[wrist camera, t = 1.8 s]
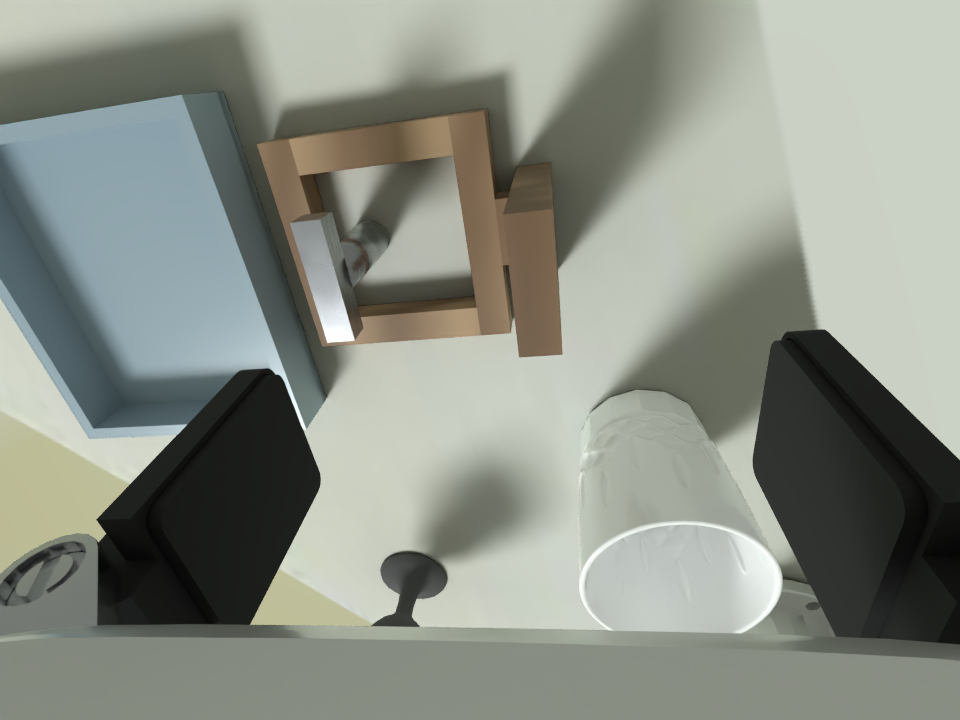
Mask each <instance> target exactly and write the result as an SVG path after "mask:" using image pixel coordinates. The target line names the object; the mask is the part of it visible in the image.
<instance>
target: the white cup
mask: <svg viewBox="0 0 960 720" xmlns="http://www.w3.org/2000/svg"><path fill="white" fill-rule="evenodd" d="M580 446H581V464H580V471H579V500H578V530H579V590H580V595H581V598H582V601H583V603H584V605H585V607H586V609H587V610H588V612H589V613H590V614H591V615H592V617H593V618H594V619H595V620H597V621H598V622H599V623H600V624H601V625H603V626H604V627H605V628H607V629H608V630H610V631H655V632H701V633H744V632H745V631H747V630H749V629H751V628H752V627H754V626H755V625H757V624H758V623H759V622H761V621H762V620H763V619H764V618H765V617H766V616H767V615H768V614H769V613H770V612H771V611H772V609H773V608H774V607H775V605H776V603H777V602H778V600H779V597H780V595H781V591H782V586H783V577H782V571H781V568H780V565H779V563H778V561H777V559H776V557H775V555H774V553H773V552H772V550H771V548H770V546H769V544H768V542H767V540H766V538H765V537H764V535H763V533H762V531H761V529H760V527H759V525H758V523H757V521H756V519H755V517H754V515H753V514H752V512H751V510H750V508H749V506H748V504H747V502H746V500H745V498H744V496H743V494H742V492H741V490H740V488H739V486H738V485H737V483H736V481H735V480H734V478H733V477H732V475H731V473H730V471H729V469H728V467H727V465H726V464H725V462H724V460H723V459H722V457H721V455H720V453H719V451H718V449H717V447H716V446H715V444H714V442H713V441H712V440H710V439H709V437H708V435H707V433H706V431H705V429H704V427H703V425H702V423H701V422H700V420H699V419H698V417H697V416H696V414H695V413H694V411H693V410H692V408H691V407H690V405H689V404H688V403H686V402H684V401H682V400H680V399H678V398H676V397H674V396H672V395H670V394H668V393H666V392H661V391H649V390H633V391H630V392H627V393H623V394H620V395H616V396H613V397H610V398H608V399H607V400H606V401H605V402H603V403H602V404H601V405H600V406H598V407H597V408H596V409H595V410H593V411H592V412H591V413H590V414H589V416H588V418H587V420H586V423H585V425H584V427H583V429H582V431H581V434H580Z"/></svg>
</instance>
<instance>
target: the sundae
mask: <svg viewBox="0 0 960 720" xmlns="http://www.w3.org/2000/svg"><path fill="white" fill-rule="evenodd" d="M381 576H382V579H383V581H384V582H385V584H386V585H387V586H388V587H389V588H390V589H392V590H393V591H395V592H397V593H398V594H400V596H399V603H398V606H397V609H396V612H395V613H394V614H392V615H389V616H385V617H383V618H382V619H380V620H378V621H377V622H375V623H374V624H373V625H372V626H386V627H420V626H419V625H418V624H417V623H416V622H415V621H414V620H413V618H412V612H413V607H414V604H415V601H416V599H424V598H430V597H433V596H435V595H437V594H439V593H440V592H441V591H442V590H443V589H444V587H445V585H446V583H447V580H446V574H445V572H444V571H443V569H442V568H441V567H440V565H439V564H437V563H436V562H435V561H433V560H432V559H430V558H428V557H425V556H423V555H419V554H415V553H400V554H396V555H393V556H391V557H389V558H388V559H386V560H385V561H384V562H383V564H382V566H381Z"/></svg>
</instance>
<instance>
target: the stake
mask: <svg viewBox="0 0 960 720" xmlns="http://www.w3.org/2000/svg"><path fill="white" fill-rule="evenodd" d="M290 225H291V229H292V232H293V235H294V238H295V241H296V244H297V248H298V251H299V254H300V257H301V260H302V263H303V267H304V270H305V273H306V276H307V279H308V282H309V286H310V289H311V292H312V295H313V298H314V302H315V305H316V308H317V311H318V314H319V317H320V321H321V324H322V327H323V330H324V333H325V336H326V340H327V343H329V342H343V341H355V340H356V338H357V337H358V335H359V334H360V332H361V331H362V330H363V328H364V327H363V323H362V320H361V316H360V312H359V309H358V305H357V301H356V298H355V294H354V290H353V288H354V286H355V285H356V284H357V283H358V282H359V281H360V280H361V278H362V277H363V276H364V275H365V274H366V273H367V271H368V270H369V269H370V268H371V267H372V266H373V265H374V263H375V262H376V261H377V260H378V259H379V258H380V256H381V255H382V254H383V253H384V252H385V251H386V249H387V247H388V244H389V238H388V234H387V232H386V230H385V229H384V228H383V226H381V225H380V224H379V223H377V222H375V221H370V220H367V221H363V222H361V223H359V224H358V225H357V226H355V227H354V228H353V229H352V230H351V231H349V232H348V233H347V234H346V235H345V236H344V237H342V238H341V239H339V235H338V232H337V228H336V224H335V221H334V217H333V213H332V211H331V212H323V213H314V214H306V215H302V216H300V217H299V218H297V219H295V220H294V221H292V222H291V223H290Z"/></svg>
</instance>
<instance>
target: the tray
mask: <svg viewBox="0 0 960 720" xmlns="http://www.w3.org/2000/svg"><path fill="white" fill-rule="evenodd" d="M0 299H1V300H2V302H3V303H4V305H5V306H6V308H7V310H8V311H9V313H10V314H11V316H12V317H13V319H14V321H15V322H16V324H17V325H18V327H19V329H20V330H21V332H22V333H23V335H24V336H25V338H26V340H27V341H28V343H29V344H30V346H31V348H32V349H33V351H34V352H35V354H36V355H37V357H38V359H39V360H40V362H41V363H42V365H43V367H44V368H45V370H46V371H47V373H48V374H49V376H50V378H51V379H52V381H53V382H54V384H55V385H56V387H57V389H58V390H59V392H60V393H61V395H62V397H63V398H64V400H65V401H66V403H67V404H68V406H69V408H70V409H71V411H72V412H73V414H74V416H75V417H76V419H77V420H78V422H79V423H80V425H81V427H82V428H83V430H84V431H85V433H86V435H87V436H88V438H89V439H96V438H119V437H142V436H164V435H178V434H179V433H180V432H181V431H182V430H183V429H184V428H185V426H186V425H187V424H188V423H189V422H190V421H191V420H192V419H193V418H194V417H195V416H196V415H197V414H198V413H199V412H200V411H201V410H202V409H203V408H204V407H205V406H206V405H207V403H208V402H209V401H210V400H211V399H212V398H213V397H214V396H215V395H216V394H217V393H218V392H219V391H220V390H221V389H222V388H223V387H224V386H225V385H226V384H227V383H228V381H229V380H230V379H231V378H232V377H233V376H234V375H235V374H236V373H237V372H239V371H240V370H249V369H263V368H269V369H271V370H272V371H273V372H274V373H275V374H276V375H280V376H281V377H282V378H283V380H284V382H285V385H286V387H287V390H288V392H289V395H290V398H291V400H292V403H293V405H294V408H295V410H296V413H297V416H298V418H299V421H300V423H301V426H302V428H303V429H307V427H308V426H309V424H310V423H311V421H312V420H313V418H314V417H315V415H316V414H317V412H318V411H319V409H320V408H321V406H322V405H323V403H324V402H325V400H326V396H325V393H324V390H323V387H322V384H321V381H320V378H319V375H318V372H317V369H316V366H315V363H314V360H313V357H312V354H311V351H310V348H309V345H308V342H307V339H306V336H305V333H304V330H303V327H302V324H301V321H300V318H299V315H298V312H297V309H296V306H295V303H294V301H293V298H292V295H291V292H290V289H289V286H288V283H287V280H286V277H285V274H284V271H283V268H282V265H281V262H280V259H279V256H278V253H277V250H276V247H275V244H274V241H273V238H272V235H271V232H270V229H269V226H268V223H267V220H266V217H265V214H264V211H263V208H262V205H261V202H260V199H259V197H258V194H257V191H256V188H255V185H254V182H253V179H252V176H251V173H250V170H249V167H248V164H247V161H246V158H245V155H244V152H243V149H242V146H241V143H240V140H239V137H238V134H237V131H236V128H235V125H234V122H233V119H232V116H231V113H230V110H229V107H228V104H227V101H226V98H225V96H224V93H223V91H220V92H208V93H196V94H184V95H177V96H171V97H165V98H159V99H153V100H147V101H141V102H135V103H129V104H123V105H117V106H111V107H105V108H99V109H93V110H87V111H81V112H75V113H69V114H63V115H57V116H51V117H45V118H39V119H33V120H27V121H21V122H15V123H9V124H3V125H0Z"/></svg>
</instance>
